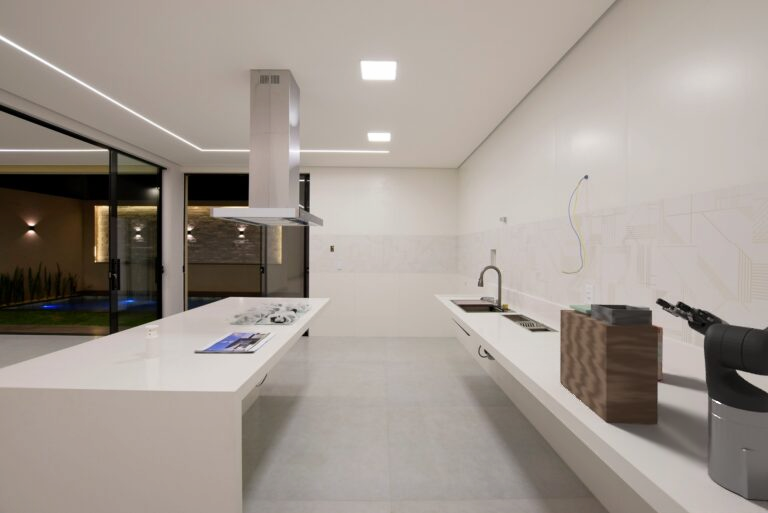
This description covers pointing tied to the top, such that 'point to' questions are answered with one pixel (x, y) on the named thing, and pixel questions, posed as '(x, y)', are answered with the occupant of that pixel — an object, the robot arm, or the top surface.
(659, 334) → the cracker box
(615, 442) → the top surface
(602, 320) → the cabinet
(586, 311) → the green t-shaped block
